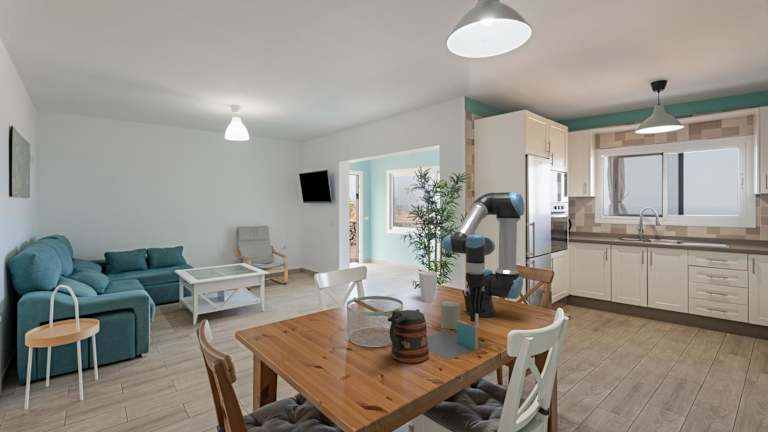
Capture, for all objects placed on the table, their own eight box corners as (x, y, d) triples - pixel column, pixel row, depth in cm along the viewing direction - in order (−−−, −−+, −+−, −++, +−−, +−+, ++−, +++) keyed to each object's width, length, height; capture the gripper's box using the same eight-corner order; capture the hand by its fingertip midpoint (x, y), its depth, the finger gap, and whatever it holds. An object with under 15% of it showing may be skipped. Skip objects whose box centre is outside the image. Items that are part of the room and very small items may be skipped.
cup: (418, 302, 214) (418, 274, 213) (419, 298, 224) (419, 270, 223) (437, 303, 212) (437, 274, 211) (437, 298, 222) (437, 271, 221)
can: (460, 331, 166) (460, 305, 165) (440, 330, 168) (440, 304, 167) (460, 324, 175) (460, 300, 174) (441, 323, 177) (441, 299, 176)
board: (447, 332, 165) (447, 330, 165) (486, 348, 147) (486, 346, 147) (410, 343, 152) (410, 341, 152) (448, 362, 134) (448, 359, 134)
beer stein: (410, 372, 126) (410, 316, 125) (376, 362, 134) (376, 309, 134) (435, 354, 141) (435, 303, 141) (403, 345, 150) (403, 298, 149)
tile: (459, 341, 152) (459, 320, 151) (478, 349, 144) (478, 326, 143) (456, 342, 151) (456, 320, 150) (475, 350, 143) (475, 327, 142)
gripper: (478, 269, 156) (477, 323, 156) (457, 272, 148) (456, 329, 149) (492, 272, 149) (492, 328, 150) (471, 275, 142) (471, 334, 143)
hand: (474, 328), depth 150 cm, fingers closed
